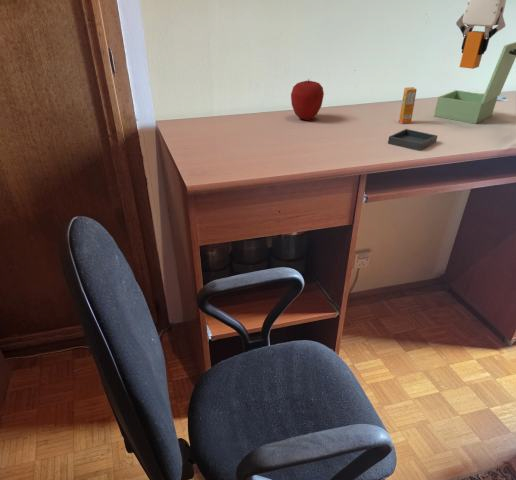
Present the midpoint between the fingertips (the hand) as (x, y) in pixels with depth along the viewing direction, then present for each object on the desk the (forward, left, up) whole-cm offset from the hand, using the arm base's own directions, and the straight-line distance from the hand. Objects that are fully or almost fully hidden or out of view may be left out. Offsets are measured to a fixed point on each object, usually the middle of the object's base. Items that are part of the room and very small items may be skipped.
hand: (472, 52), depth 137 cm
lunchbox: (0, -7, -19) cm, 20 cm away
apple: (+38, +32, -19) cm, 53 cm away
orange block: (0, 0, -4) cm, 4 cm away
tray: (-1, +32, -19) cm, 37 cm away
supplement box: (+11, +14, -19) cm, 26 cm away
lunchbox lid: (-8, -7, -5) cm, 12 cm away
